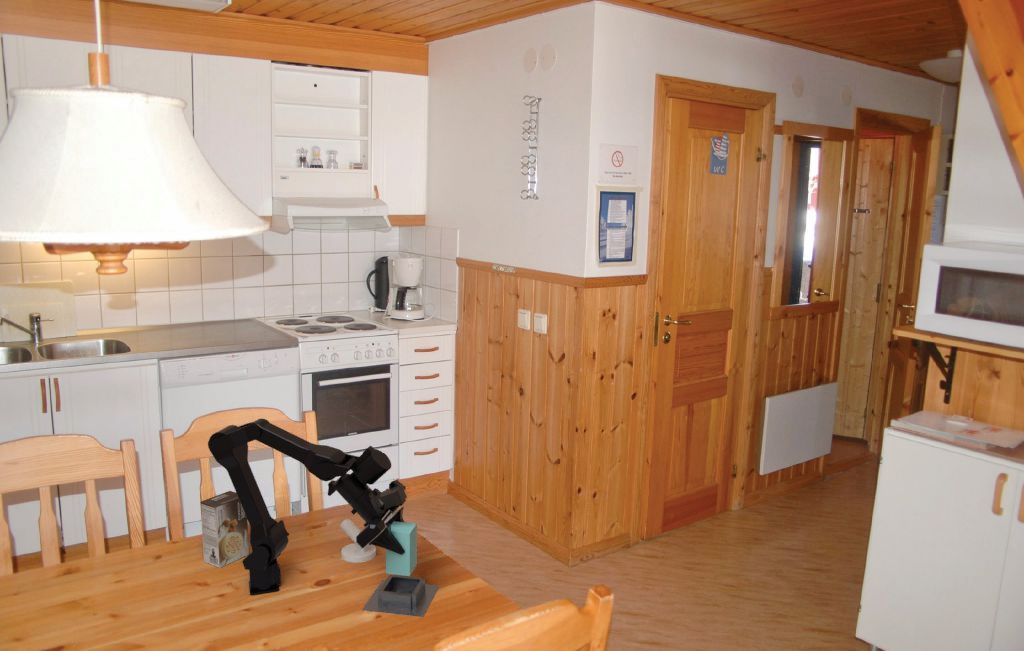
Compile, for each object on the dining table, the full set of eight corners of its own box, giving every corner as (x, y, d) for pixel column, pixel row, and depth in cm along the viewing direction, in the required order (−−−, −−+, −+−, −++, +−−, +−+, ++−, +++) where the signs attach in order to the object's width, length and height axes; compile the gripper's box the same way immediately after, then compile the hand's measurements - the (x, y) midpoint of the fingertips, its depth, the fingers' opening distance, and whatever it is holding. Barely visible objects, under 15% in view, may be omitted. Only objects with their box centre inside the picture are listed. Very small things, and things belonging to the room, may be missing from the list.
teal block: (385, 573, 175) (385, 531, 173) (393, 562, 180) (393, 521, 179) (409, 576, 174) (409, 533, 173) (416, 564, 180) (416, 523, 178)
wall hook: (356, 512, 204) (382, 522, 198) (356, 547, 206) (383, 558, 200) (330, 523, 198) (357, 533, 192) (330, 558, 199) (357, 570, 193)
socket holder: (361, 615, 173) (361, 597, 172) (382, 584, 187) (382, 567, 186) (423, 622, 171) (423, 604, 170) (439, 590, 184) (439, 573, 184)
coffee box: (233, 548, 204) (230, 489, 201) (249, 554, 200) (247, 495, 198) (202, 562, 196) (199, 500, 193) (219, 569, 193) (216, 506, 190)
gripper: (370, 489, 165) (420, 543, 165) (397, 460, 183) (442, 509, 183) (334, 521, 168) (384, 575, 168) (365, 489, 186) (410, 538, 186)
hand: (407, 547), depth 176 cm, fingers closed on teal block, 5 cm apart
